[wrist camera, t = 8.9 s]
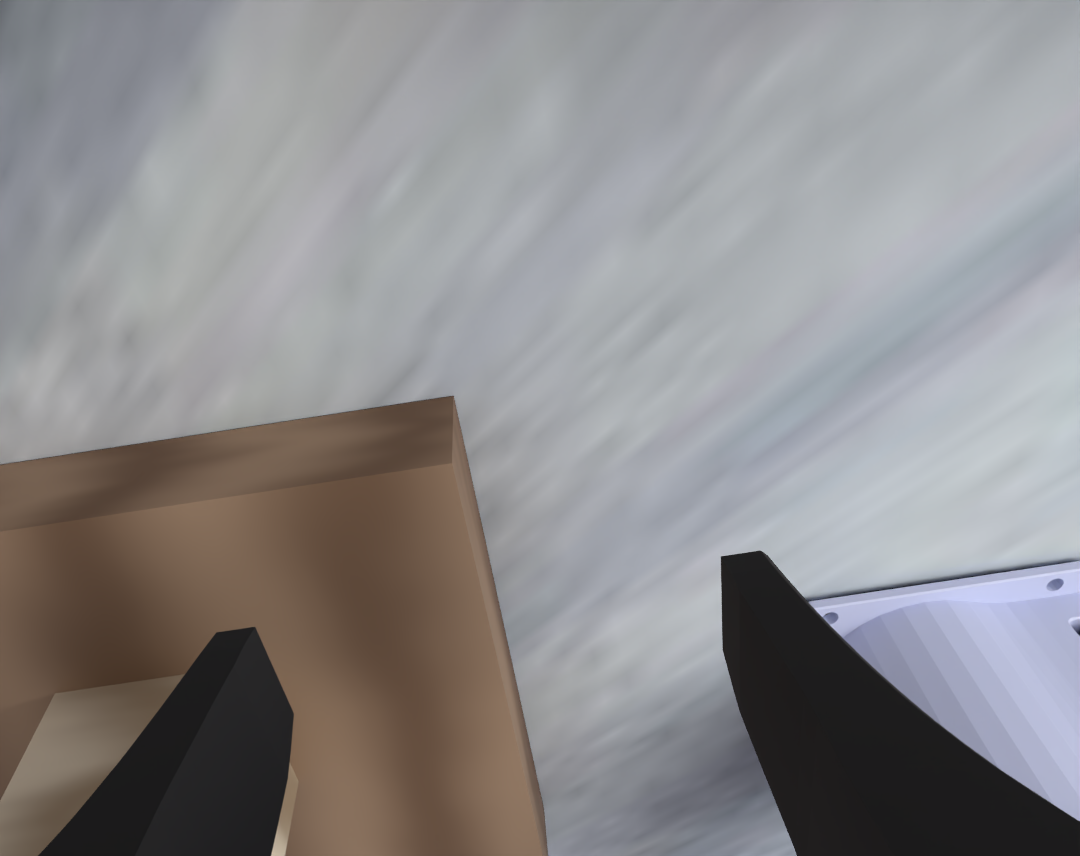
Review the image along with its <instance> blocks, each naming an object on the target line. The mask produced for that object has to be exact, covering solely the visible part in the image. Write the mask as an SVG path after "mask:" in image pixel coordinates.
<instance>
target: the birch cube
mask: <svg viewBox="0 0 1080 856" xmlns="http://www.w3.org/2000/svg"><path fill="white" fill-rule="evenodd" d="M184 675H185V674H183V675H176V676H170V677H163V678H156V679H150V680H143V681H136V682H129V683H123V684H116V685H109V686H102V687H96V688H89V689H82V690H75V691H69V692H62V693H55V694H54V696H53V698H52V700H51V702H50V704H49V706H48V708H47V710H46V712H45V714H44V716H43V718H42V720H41V722H40V724H39V726H38V728H37V730H36V732H35V733H34V735H33V737H32V739H31V741H30V743H29V745H28V747H27V749H26V751H25V753H24V755H23V757H22V759H21V761H20V763H19V765H18V767H17V769H16V771H15V773H14V775H13V777H12V779H11V781H10V783H9V784H8V786H7V788H6V790H5V792H4V794H3V796H2V798H1V800H0V856H38V855H39V854H40V853H41V852H42V851H43V850H44V849H45V848H46V847H47V845H48V844H49V843H50V842H51V841H52V840H53V839H54V838H55V837H56V836H57V834H58V833H59V832H60V831H61V830H62V829H63V828H64V827H65V826H66V825H67V823H68V822H69V821H70V820H71V819H72V818H73V817H74V815H75V814H76V813H77V812H78V811H79V810H80V808H81V807H82V806H83V805H84V804H85V802H86V801H87V800H88V799H89V797H90V796H91V795H92V794H93V793H94V791H95V790H96V789H97V788H98V787H99V785H100V784H101V783H102V782H103V781H104V779H105V778H106V777H107V776H108V775H109V773H110V772H111V771H112V770H113V768H114V767H115V766H116V765H117V764H118V762H119V761H120V760H121V759H122V757H123V756H124V755H125V753H126V752H127V751H128V750H129V748H130V747H131V746H132V744H133V743H134V742H135V740H136V739H137V738H138V736H139V735H140V734H141V732H142V731H143V730H144V729H145V727H146V726H147V725H148V723H149V722H150V721H151V719H152V718H153V717H154V715H155V714H156V713H157V712H158V710H159V709H160V707H161V706H162V705H163V703H164V702H165V701H166V699H167V698H168V697H169V695H170V694H171V693H172V691H173V690H174V688H175V687H176V686H177V684H178V683H179V682H180V680H181V679H182V678H183V676H184ZM298 783H299V781H298V779H297V777H296V775H295V772H294V770H293V768H292V766H291V764H289V773H288V781H287V785H286V790H285V795H284V800H283V804H282V809H281V813H280V818H279V823H278V827H277V832H276V836H275V841H274V845H273V850H272V854H271V856H285V853H286V847H287V842H288V836H289V831H290V826H291V820H292V815H293V810H294V804H295V799H296V794H297V788H298Z"/></svg>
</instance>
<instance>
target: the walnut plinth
mask: <svg viewBox="0 0 1080 856" xmlns="http://www.w3.org/2000/svg"><path fill="white" fill-rule="evenodd" d="M249 627H256V630H257V632H258V634H259V636H260V639H261V641H262V643H263V645H264V648H265V650H266V652H267V654H268V657H269V659H270V661H271V663H272V666H273V668H274V670H275V672H276V674H277V677H278V679H279V681H280V683H281V686H282V688H283V690H284V692H285V695H286V697H287V699H288V701H289V704H290V706H291V708H292V710H293V713H294V719H293V731H292V744H291V754H290V764H291V766H292V768H293V770H294V772H295V775H296V777H297V779H298V781H299V783H298V788H297V794H296V799H295V804H294V810H293V815H292V820H291V826H290V831H289V836H288V842H287V847H286V853H285V856H548V850H547V839H546V827H545V815H544V807H543V802H542V798H541V793H540V789H539V784H538V780H537V775H536V770H535V766H534V761H533V757H532V752H531V748H530V743H529V738H528V734H527V729H526V725H525V720H524V716H523V711H522V706H521V702H520V697H519V693H518V688H517V684H516V679H515V674H514V670H513V665H512V661H511V656H510V652H509V647H508V642H507V638H506V633H505V629H504V624H503V620H502V615H501V610H500V606H499V601H498V597H497V592H496V588H495V583H494V578H493V574H492V569H491V565H490V560H489V555H488V551H487V546H486V542H485V537H484V533H483V528H482V523H481V519H480V514H479V510H478V505H477V501H476V496H475V491H474V487H473V482H472V478H471V473H470V469H469V464H468V459H467V455H466V450H465V446H464V441H463V437H462V432H461V427H460V423H459V418H458V414H457V409H456V405H455V400H454V396H450V397H443V398H437V399H430V400H424V401H417V402H410V403H404V404H397V405H391V406H384V407H378V408H371V409H365V410H358V411H351V412H345V413H338V414H332V415H325V416H319V417H312V418H305V419H299V420H292V421H286V422H279V423H273V424H266V425H259V426H253V427H246V428H240V429H233V430H227V431H220V432H213V433H207V434H200V435H194V436H187V437H181V438H174V439H167V440H161V441H154V442H148V443H141V444H135V445H128V446H122V447H115V448H108V449H102V450H95V451H89V452H82V453H76V454H69V455H62V456H56V457H49V458H43V459H36V460H30V461H23V462H16V463H10V464H3V465H0V800H1V798H2V796H3V794H4V792H5V790H6V788H7V786H8V784H9V783H10V781H11V779H12V777H13V775H14V773H15V771H16V769H17V767H18V765H19V763H20V761H21V759H22V757H23V755H24V753H25V751H26V749H27V747H28V745H29V743H30V741H31V739H32V737H33V735H34V733H35V732H36V730H37V728H38V726H39V724H40V722H41V720H42V718H43V716H44V714H45V712H46V710H47V708H48V706H49V704H50V702H51V700H52V698H53V696H54V694H55V693H62V692H69V691H75V690H82V689H89V688H96V687H102V686H109V685H116V684H123V683H129V682H136V681H143V680H150V679H156V678H163V677H170V676H176V675H183V674H185V673H186V672H187V671H188V669H189V668H190V667H191V665H192V664H193V663H194V661H195V660H196V658H197V657H198V656H199V654H200V653H201V652H202V650H203V649H204V648H205V647H206V645H207V644H208V643H209V641H210V640H211V639H212V637H213V636H214V635H215V633H216V632H223V631H229V630H236V629H243V628H249Z"/></svg>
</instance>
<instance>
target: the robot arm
mask: <svg viewBox="0 0 1080 856" xmlns="http://www.w3.org/2000/svg"><path fill="white" fill-rule="evenodd" d="M721 583H722V635H723V652H724V656H725V660H726V663H727V667H728V671H729V675H730V678H731V682H732V686H733V689H734V693H735V696H736V700H737V703H738V707H739V710H740V713H741V716H742V718H743V721H744V723H745V726H746V729H747V731H748V734H749V736H750V739H751V741H752V744H753V746H754V749H755V751H756V754H757V756H758V759H759V761H760V764H761V766H762V769H763V771H764V774H765V776H766V779H767V781H768V784H769V786H770V789H771V791H772V794H773V796H774V799H775V801H776V803H777V806H778V808H779V811H780V813H781V816H782V818H783V821H784V823H785V826H786V828H787V831H788V833H789V836H790V838H791V841H792V843H793V846H794V848H795V851H796V854H797V856H1080V561H1076V562H1069V563H1063V564H1056V565H1049V566H1043V567H1036V568H1029V569H1023V570H1016V571H1009V572H1003V573H996V574H989V575H982V576H976V577H969V578H962V579H956V580H949V581H942V582H936V583H929V584H922V585H916V586H909V587H902V588H896V589H889V590H882V591H876V592H869V593H862V594H856V595H849V596H842V597H835V598H829V599H822V600H815V601H809V602H808V601H807V600H806V599H805V598H804V597H803V596H802V595H801V594H800V593H799V592H798V590H797V589H796V588H795V587H794V586H793V585H792V584H791V583H790V581H789V580H788V579H787V578H786V577H785V576H784V575H783V573H782V572H781V571H780V570H779V569H778V567H777V566H776V565H775V564H774V563H773V561H772V560H771V559H770V558H769V557H768V555H766V554H765V553H763V552H762V551H755V552H748V553H742V554H735V555H729V556H722V557H721ZM830 612H831V613H830ZM827 613H830V614H828V615H825V614H827ZM293 719H294V713H293V710H292V708H291V706H290V704H289V701H288V699H287V697H286V695H285V692H284V690H283V688H282V686H281V683H280V681H279V679H278V677H277V674H276V672H275V670H274V668H273V666H272V663H271V661H270V659H269V657H268V654H267V652H266V650H265V648H264V645H263V643H262V641H261V639H260V636H259V634H258V632H257V630H256V627H249V628H243V629H236V630H229V631H223V632H216V633H215V635H214V636H213V637H212V639H211V640H210V641H209V643H208V644H207V645H206V647H205V648H204V649H203V650H202V652H201V653H200V654H199V656H198V657H197V658H196V660H195V661H194V663H193V664H192V665H191V667H190V668H189V669H188V671H187V672H186V673H185V675H184V676H183V678H182V679H181V680H180V682H179V683H178V684H177V686H176V687H175V688H174V690H173V691H172V693H171V694H170V695H169V697H168V698H167V699H166V701H165V702H164V703H163V705H162V706H161V707H160V709H159V710H158V712H157V713H156V714H155V715H154V717H153V718H152V719H151V721H150V722H149V723H148V725H147V726H146V727H145V729H144V730H143V731H142V732H141V734H140V735H139V736H138V738H137V739H136V740H135V742H134V743H133V744H132V746H131V747H130V748H129V750H128V751H127V752H126V753H125V755H124V756H123V757H122V759H121V760H120V761H119V762H118V764H117V765H116V766H115V767H114V768H113V770H112V771H111V772H110V773H109V775H108V776H107V777H106V778H105V779H104V781H103V782H102V783H101V784H100V785H99V787H98V788H97V789H96V790H95V791H94V793H93V794H92V795H91V796H90V797H89V799H88V800H87V801H86V802H85V804H84V805H83V806H82V807H81V808H80V810H79V811H78V812H77V813H76V814H75V815H74V817H73V818H72V819H71V820H70V821H69V822H68V823H67V825H66V826H65V827H64V828H63V829H62V830H61V831H60V832H59V833H58V834H57V836H56V837H55V838H54V839H53V840H52V841H51V842H50V843H49V844H48V845H47V847H46V848H45V849H44V850H43V851H42V852H41V853H40V854H39V855H38V856H271V854H272V850H273V845H274V841H275V836H276V832H277V827H278V823H279V818H280V813H281V809H282V804H283V800H284V795H285V790H286V785H287V781H288V773H289V764H290V754H291V744H292V731H293Z"/></svg>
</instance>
